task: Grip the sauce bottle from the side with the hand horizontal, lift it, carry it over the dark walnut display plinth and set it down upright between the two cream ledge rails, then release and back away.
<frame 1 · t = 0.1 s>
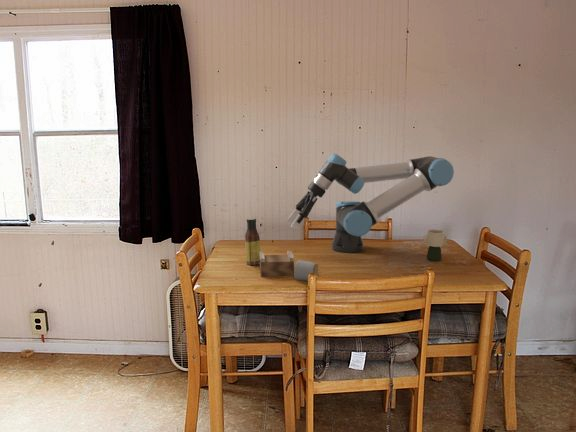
hand: (291, 225, 214), 15 cm above the table, tool tilted 35°, fingers open, 13 cm apart
ceramic mug: (306, 279, 190), on the table
display plinth: (276, 272, 197), on the table
sauce bottle: (253, 264, 209), on the table
character mug: (433, 260, 215), on the table
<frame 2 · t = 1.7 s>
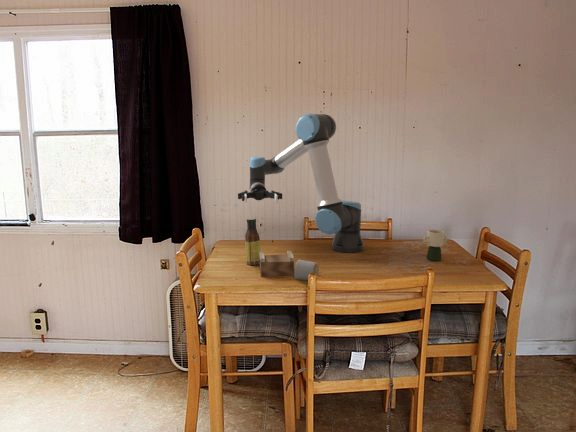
hand: (261, 199, 214), 26 cm above the table, tool horizontal, fingers open, 13 cm apart
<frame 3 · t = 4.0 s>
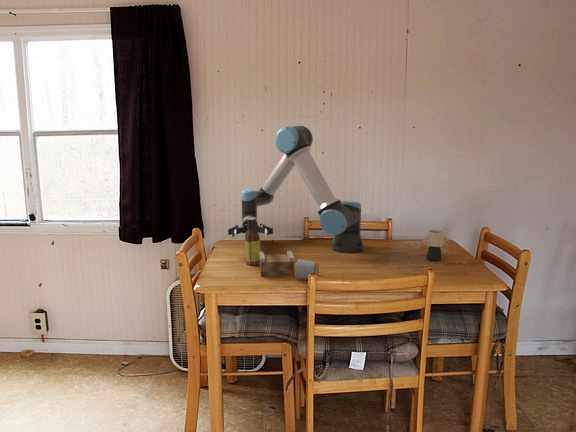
hand: (251, 235, 212), 11 cm above the table, tool horizontal, fingers open, 13 cm apart
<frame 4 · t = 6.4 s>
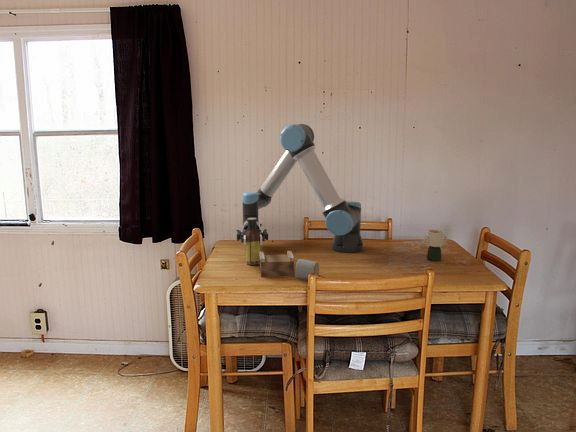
hand: (253, 241, 202), 11 cm above the table, tool horizontal, fingers closed on sauce bottle, 6 cm apart
sauce bottle: (253, 264, 209), on the table, touching gripper
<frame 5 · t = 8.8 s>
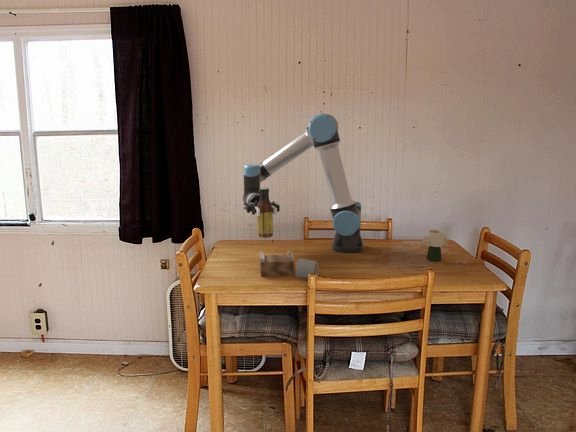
hand: (267, 212, 192), 25 cm above the table, tool horizontal, fingers closed on sauce bottle, 6 cm apart
sauce bottle: (265, 236, 199), point 14 cm above the table, touching gripper
when the fingers open (18 cm above the table, at t = 11.2 s): sauce bottle drops 1 cm, resting on display plinth.
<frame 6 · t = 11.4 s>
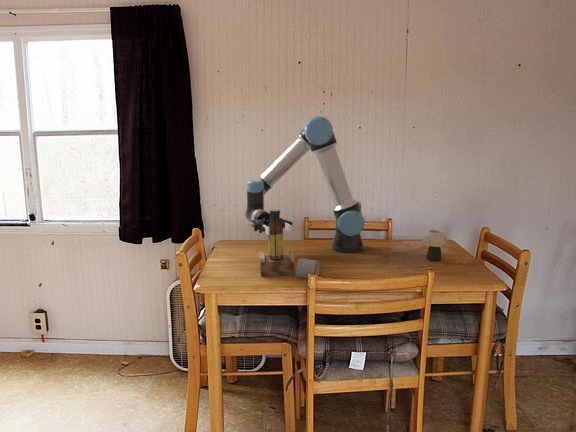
hand: (280, 230, 189), 18 cm above the table, tool horizontal, fingers open, 9 cm apart
sauce bottle: (275, 258, 196), point 6 cm above the table, touching display plinth
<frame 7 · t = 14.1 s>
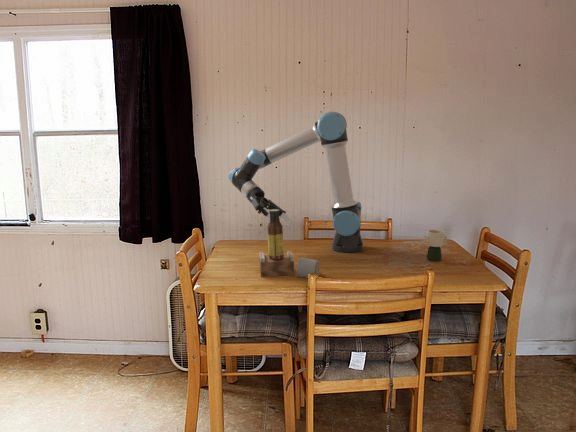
hand: (282, 222, 206), 18 cm above the table, tool tilted 60°, fingers open, 13 cm apart
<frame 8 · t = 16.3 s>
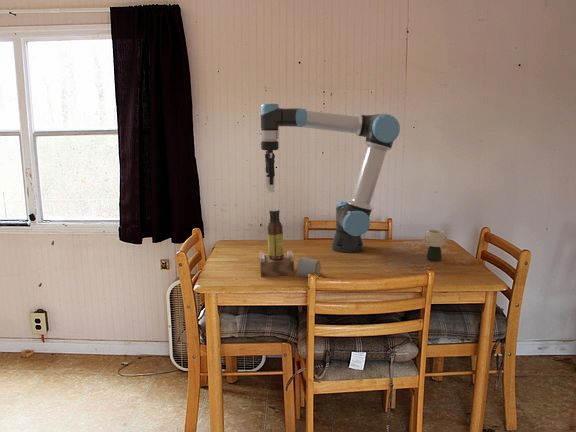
hand: (270, 190, 211), 31 cm above the table, tool pointing down, fingers open, 13 cm apart
at the end: sauce bottle inside the target area on the display plinth (0.3 cm from its centre), point 5.8 cm above the display plinth's base; sauce bottle tilted 0°; the gripper is holding nothing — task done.
